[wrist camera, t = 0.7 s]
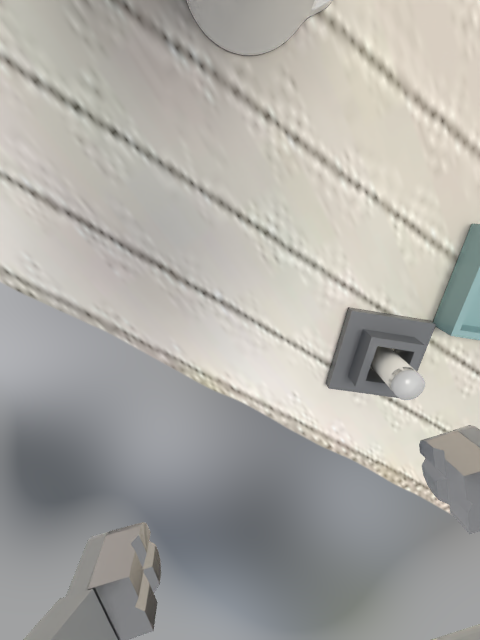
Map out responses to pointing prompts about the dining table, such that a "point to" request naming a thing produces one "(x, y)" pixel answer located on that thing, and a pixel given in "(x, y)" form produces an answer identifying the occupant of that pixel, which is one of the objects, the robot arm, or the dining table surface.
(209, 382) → the dining table surface
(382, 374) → the cylinder
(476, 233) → the parts tray
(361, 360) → the grey square socket
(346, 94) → the dining table surface
